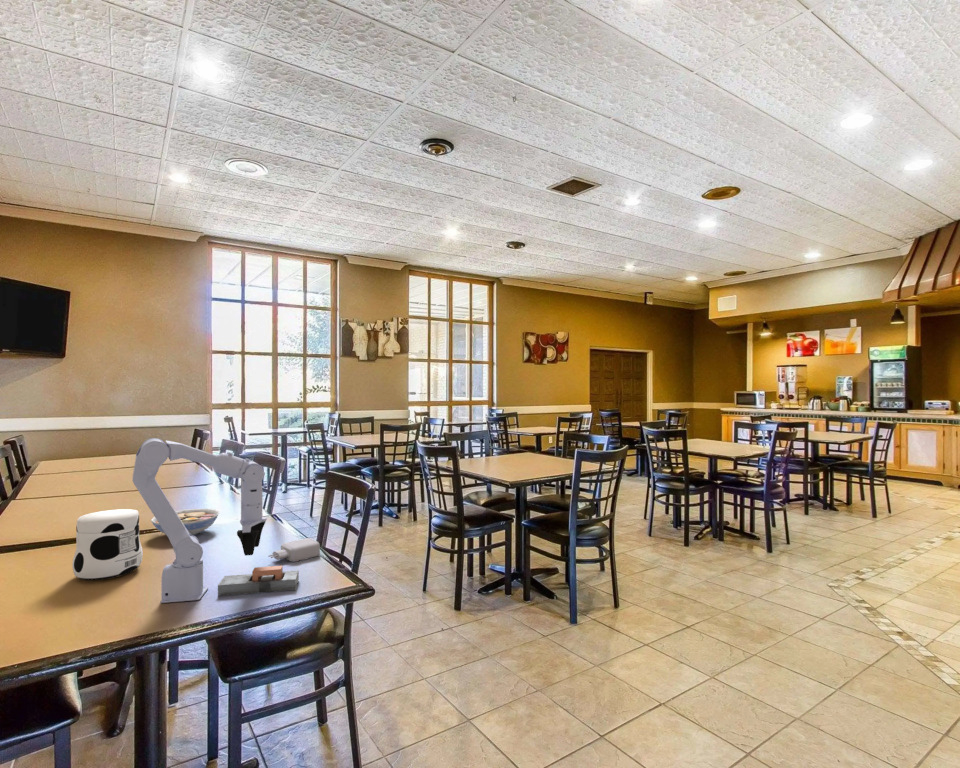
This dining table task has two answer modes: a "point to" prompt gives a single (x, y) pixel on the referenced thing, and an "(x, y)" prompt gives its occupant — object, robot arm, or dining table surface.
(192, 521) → the ramen bowl
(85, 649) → the dining table surface
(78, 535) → the milk container
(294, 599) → the dining table surface
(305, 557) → the charger
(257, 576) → the orange u-shaped block
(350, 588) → the dining table surface
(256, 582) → the gray rectangular frame
